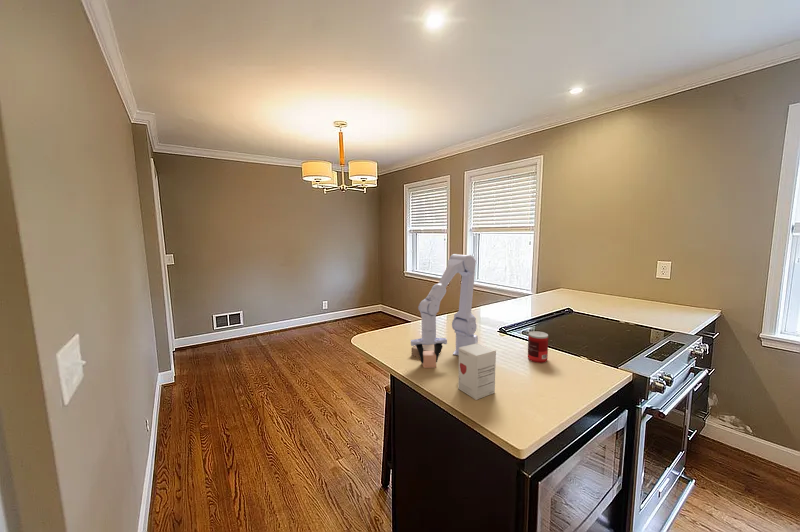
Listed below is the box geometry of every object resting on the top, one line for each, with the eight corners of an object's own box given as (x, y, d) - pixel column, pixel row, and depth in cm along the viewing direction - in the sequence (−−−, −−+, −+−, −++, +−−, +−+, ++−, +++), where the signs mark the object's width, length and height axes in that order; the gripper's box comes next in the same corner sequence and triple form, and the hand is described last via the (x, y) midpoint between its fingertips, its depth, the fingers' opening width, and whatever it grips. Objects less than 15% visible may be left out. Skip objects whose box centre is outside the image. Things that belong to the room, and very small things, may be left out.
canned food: (547, 357, 138) (548, 332, 137) (547, 364, 131) (548, 338, 130) (528, 354, 142) (529, 330, 140) (527, 361, 135) (527, 335, 133)
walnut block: (441, 352, 146) (441, 344, 146) (432, 360, 138) (432, 351, 137) (420, 349, 151) (420, 340, 151) (411, 356, 142) (411, 347, 142)
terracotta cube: (433, 362, 135) (433, 350, 134) (436, 367, 130) (436, 355, 130) (421, 362, 135) (421, 351, 134) (423, 367, 130) (423, 355, 129)
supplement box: (457, 389, 112) (457, 347, 111) (476, 382, 117) (477, 342, 115) (475, 400, 104) (476, 355, 103) (495, 393, 109) (496, 350, 107)
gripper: (444, 325, 135) (444, 356, 137) (409, 327, 134) (409, 358, 135) (448, 330, 128) (448, 363, 130) (412, 332, 127) (412, 365, 128)
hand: (428, 361), depth 132 cm, fingers closed on terracotta cube, 5 cm apart
